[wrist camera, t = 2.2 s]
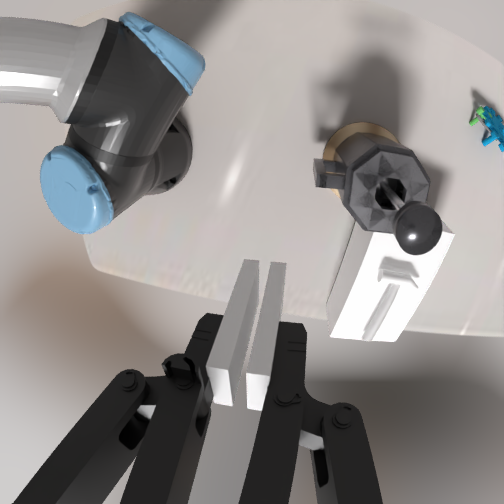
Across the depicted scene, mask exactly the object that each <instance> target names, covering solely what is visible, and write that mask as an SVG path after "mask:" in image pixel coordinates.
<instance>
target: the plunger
mask: <svg viewBox="0 0 504 504" xmlns="http://www.w3.org/2000/svg"><path fill="white" fill-rule="evenodd" d="M403 190H404V187H403V185H402V184H401V182H400V180H399V179H394V178H388V177H387V178H386V179H384V180H383V181H382V182H381V183H379V184H378V185H377V186H376V192H375V200H376V201H377V203H378V204H379V205H380V206H385V207H393V206H395V207H396V209H397V210H398V211H397V213H396V214H395V216H394V219H393V223H392V230H393V234H394V236H395V238H396V240H397V242H398V244H399V245H400V247H401V249H402V250H403V251H404V252H406V253H408V254H410V255H422V254H425V253H427V252H429V251H430V250H432V249H433V248H434V247H435V246H436V245H437V243H438V242H439V240H440V238H441V235H442V221H441V219H440V217H439V215H438V214H437V213H436V212H435V211H434V210H433V209H432V208H431V207H430V206H429V205H428V204H427V203H425V202H422V201H411V202H408V203H406V204H404V202H403V201H402V196H403Z"/></svg>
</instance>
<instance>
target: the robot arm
mask: <svg viewBox="0 0 504 504" xmlns="http://www.w3.org/2000/svg"><path fill="white" fill-rule="evenodd" d="M204 70H205V60H204V58H203V56H202V55H201V54H200V53H199V52H197V51H196V50H195V49H193V48H192V47H190V46H189V45H187V44H186V43H184V42H183V41H181V40H180V39H178V38H177V37H175V36H174V35H172V34H170V33H169V32H167V31H165V30H163V29H162V28H160V27H158V26H156V25H154V24H153V23H151V22H149V21H147V20H145V19H144V18H142V17H140V16H138V15H136V14H134V13H131V12H127V13H125V14H124V15H123V16H121V17H120V18H119V22H116V21H112V20H109V19H105V18H101V19H99V20H97V21H95V22H93V23H91V24H89V25H86V26H84V27H77V26H73V25H67V24H62V23H56V22H50V21H43V20H36V19H26V18H14V17H0V103H17V104H30V105H41V106H49V107H50V108H51V109H52V110H53V111H54V113H55V115H56V117H57V118H58V120H59V122H60V123H67V124H71V125H70V128H69V131H68V134H67V137H66V140H65V143H64V144H63V145H60V146H56V147H54V149H53V150H52V151H50V152H49V153H48V154H47V155H46V156H45V158H44V160H43V162H42V165H41V170H40V182H41V188H42V192H43V195H44V198H45V200H46V202H47V205H48V207H49V209H50V210H51V212H52V213H53V215H54V216H55V217H56V218H57V219H58V221H60V222H61V224H63V225H64V226H65V227H66V228H68V229H69V230H71V231H73V232H76V233H79V234H91V233H94V232H96V231H97V230H99V229H101V228H102V227H104V226H106V225H108V224H109V223H110V222H111V221H112V220H113V219H114V218H115V217H117V216H118V215H119V214H120V213H122V212H123V211H124V210H126V209H127V208H128V207H130V206H131V205H132V204H133V203H135V202H136V201H137V200H139V199H140V198H141V197H143V196H144V195H154V194H160V193H163V192H166V191H168V190H170V189H171V188H173V187H174V186H176V185H177V184H178V183H179V182H180V181H181V180H182V179H183V178H184V177H185V175H186V174H187V172H188V170H189V167H190V164H191V159H192V145H191V141H190V137H189V135H188V133H187V131H186V129H185V127H184V126H183V125H182V123H181V122H180V121H179V120H178V119H176V118H175V117H176V115H177V114H178V112H179V110H180V109H181V107H182V105H183V104H184V102H185V101H186V99H187V97H188V96H191V95H192V93H193V91H192V90H193V88H194V87H195V85H196V83H197V82H198V80H199V78H200V77H201V75H202V74H203V72H204ZM285 274H286V263H280V262H271V265H270V269H269V274H268V279H267V283H266V288H265V293H264V297H263V302H262V306H261V311H260V315H259V320H258V324H257V329H256V334H255V338H254V342H253V346H252V351H251V355H250V360H249V364H248V368H247V372H246V379H247V408H248V409H253V410H261V411H262V413H261V417H260V422H259V426H258V431H257V434H256V439H255V443H254V447H253V451H252V455H251V459H250V463H249V467H248V470H247V474H246V478H245V482H244V486H243V489H242V493H241V497H240V500H239V504H288V502H289V497H290V492H291V487H292V482H293V476H294V470H295V464H296V459H297V452H298V446H299V445H301V446H303V447H307V448H309V449H310V452H311V460H312V466H313V473H314V480H315V488H316V495H317V502H318V504H383V502H382V497H381V493H380V488H379V483H378V479H377V475H376V470H375V466H374V462H373V458H372V454H371V450H370V446H369V442H368V438H367V434H366V430H365V427H364V423H363V419H362V416H361V414H360V412H359V410H358V409H357V408H356V407H355V406H353V405H351V404H348V403H337V404H333V405H328V404H325V403H322V402H319V401H317V400H315V399H313V398H312V397H311V396H310V395H309V394H308V393H307V391H306V389H305V386H304V385H305V384H304V379H305V362H306V343H307V332H306V330H305V328H304V326H303V324H302V323H291V322H281V314H282V307H283V297H284V286H285ZM258 302H259V261H258V260H247V259H244V262H243V264H242V267H241V270H240V273H239V275H238V278H237V281H236V284H235V286H234V289H233V292H232V295H231V297H230V300H229V303H228V306H227V308H226V311H225V314H224V315H217V314H210V313H206V314H205V315H204V316H203V317H202V318H201V319H200V320H199V321H198V324H197V326H196V328H195V331H194V333H193V335H192V338H191V339H190V342H189V344H188V346H187V349H186V351H185V353H184V354H174V355H171V356H170V357H168V358H167V359H165V360H164V362H163V363H162V367H163V369H164V372H165V374H166V375H165V376H157V377H144V375H143V374H142V373H141V372H139V371H137V370H134V369H127V370H124V371H122V372H120V373H119V374H118V375H117V376H116V377H115V378H114V379H113V380H112V381H111V383H110V384H109V385H108V386H107V387H106V388H105V390H104V391H103V392H102V393H101V394H100V396H99V397H98V398H97V399H96V400H95V402H94V403H93V404H92V405H91V406H90V407H89V409H88V410H87V411H86V412H85V414H84V415H83V416H82V417H81V418H80V420H79V421H78V422H77V423H76V424H75V426H74V427H73V428H72V429H71V430H70V432H69V433H68V434H67V435H66V437H65V438H64V439H63V440H62V441H61V443H60V444H59V445H58V446H57V448H56V449H55V450H54V451H53V453H52V454H51V455H50V456H49V458H48V459H47V460H46V461H45V463H44V464H43V465H42V466H41V468H40V469H39V470H38V471H37V473H36V474H35V475H34V477H33V478H32V479H31V480H30V482H29V483H28V485H27V486H26V487H25V488H24V489H23V491H22V492H21V493H20V495H19V496H18V497H17V499H16V500H15V501H14V503H12V504H102V503H103V502H104V500H105V499H106V498H107V496H108V495H109V493H110V492H111V491H112V489H113V488H114V487H115V485H116V484H117V483H118V481H119V480H120V478H121V477H122V476H123V474H124V473H125V472H126V470H127V469H128V467H129V466H130V465H131V463H132V462H133V460H134V459H135V457H136V456H137V457H136V459H135V462H134V465H133V468H132V470H131V473H130V476H129V479H128V482H127V484H126V487H125V490H124V493H123V496H122V499H121V502H120V504H188V500H189V496H190V492H191V489H192V485H193V481H194V478H195V474H196V469H197V466H198V462H199V459H200V455H201V451H202V447H203V444H204V440H205V436H206V432H207V428H208V424H209V421H210V417H211V408H210V407H211V403H212V400H213V399H214V402H215V403H218V404H223V405H228V406H233V404H234V400H235V396H236V392H237V388H238V384H239V380H240V376H241V372H242V368H243V364H244V360H245V356H246V352H247V348H248V344H249V340H250V336H251V331H252V327H253V323H254V319H255V315H256V311H257V307H258Z"/></svg>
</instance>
